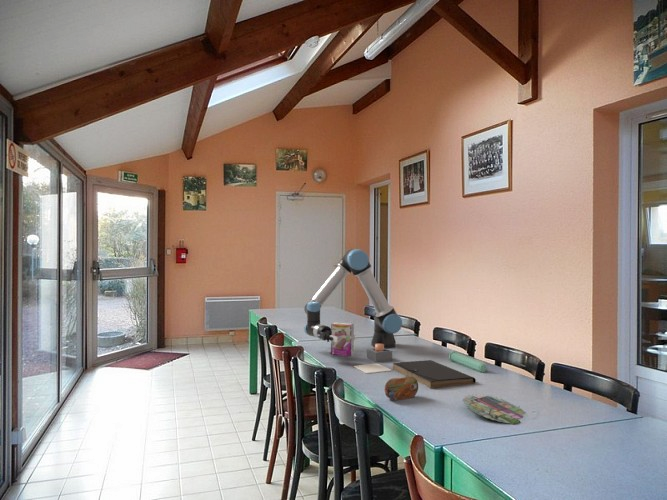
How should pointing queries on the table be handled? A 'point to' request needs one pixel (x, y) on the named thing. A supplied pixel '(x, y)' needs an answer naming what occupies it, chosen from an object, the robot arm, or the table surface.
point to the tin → (401, 388)
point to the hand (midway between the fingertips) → (346, 338)
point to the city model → (494, 408)
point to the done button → (379, 347)
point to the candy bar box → (342, 339)
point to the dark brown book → (433, 374)
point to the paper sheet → (372, 368)
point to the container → (467, 361)
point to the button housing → (379, 355)
